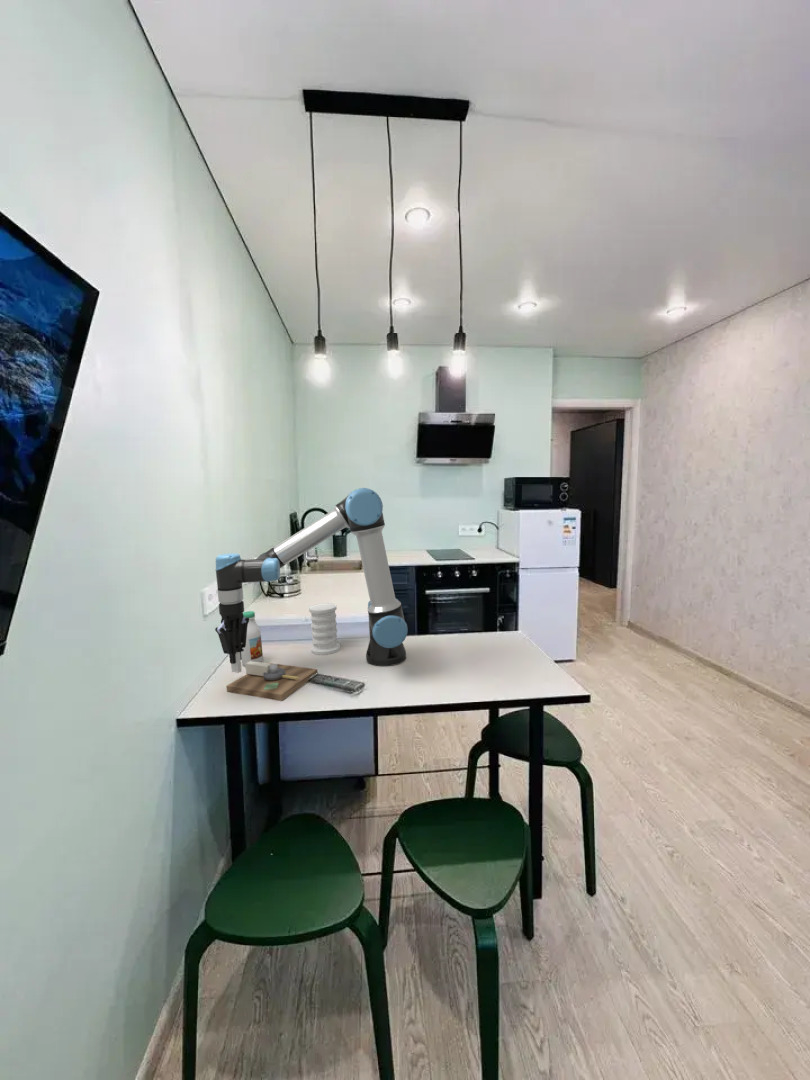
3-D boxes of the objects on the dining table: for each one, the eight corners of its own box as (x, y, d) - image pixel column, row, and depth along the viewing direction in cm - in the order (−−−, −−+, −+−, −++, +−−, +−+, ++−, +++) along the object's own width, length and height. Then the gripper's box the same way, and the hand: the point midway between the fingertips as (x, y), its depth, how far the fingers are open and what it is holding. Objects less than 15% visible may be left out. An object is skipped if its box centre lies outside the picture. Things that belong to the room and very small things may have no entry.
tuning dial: (304, 675, 147) (303, 664, 147) (291, 683, 141) (290, 672, 141) (255, 668, 155) (254, 658, 155) (241, 676, 149) (240, 665, 148)
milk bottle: (243, 669, 161) (238, 616, 159) (240, 662, 168) (236, 611, 166) (264, 664, 165) (260, 613, 163) (261, 658, 172) (257, 608, 169)
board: (317, 674, 153) (317, 668, 153) (281, 700, 135) (281, 694, 135) (267, 667, 162) (266, 662, 161) (226, 691, 143) (226, 685, 143)
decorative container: (337, 654, 172) (334, 610, 170) (308, 655, 172) (305, 611, 170) (342, 644, 183) (339, 602, 181) (314, 645, 183) (311, 603, 181)
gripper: (236, 596, 148) (241, 662, 151) (206, 605, 136) (212, 678, 139) (254, 597, 146) (259, 665, 148) (225, 607, 134) (230, 681, 136)
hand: (236, 671), depth 144 cm, fingers closed
